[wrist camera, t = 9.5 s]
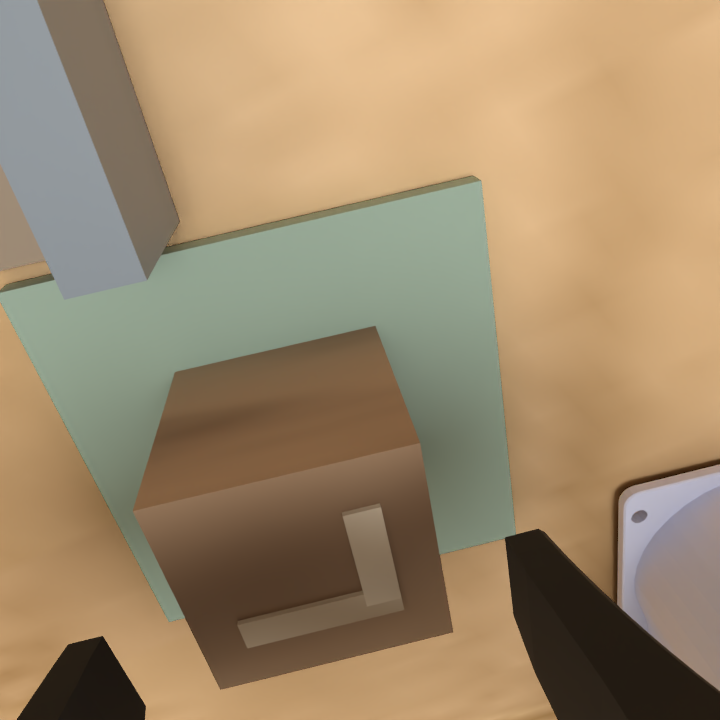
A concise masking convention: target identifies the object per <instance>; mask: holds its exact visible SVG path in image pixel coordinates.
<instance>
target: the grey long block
mask: <svg viewBox="0 0 720 720" xmlns="http://www.w3.org/2000/svg"><path fill="white" fill-rule="evenodd" d="M179 222H180V221H179V218H178V215H177V212H176V209H175V206H174V203H173V201H172V198H171V195H170V192H169V189H168V186H167V183H166V180H165V178H164V175H163V172H162V169H161V166H160V163H159V160H158V157H157V154H156V152H155V149H154V146H153V143H152V140H151V137H150V134H149V131H148V128H147V126H146V123H145V120H144V117H143V114H142V111H141V108H140V105H139V103H138V100H137V97H136V94H135V91H134V88H133V85H132V82H131V79H130V77H129V74H128V71H127V68H126V65H125V62H124V59H123V56H122V53H121V51H120V48H119V45H118V42H117V39H116V36H115V33H114V30H113V28H112V25H111V22H110V19H109V16H108V13H107V10H106V7H105V4H104V2H103V0H0V271H3V270H7V269H11V268H15V267H20V266H24V265H28V264H33V263H37V262H41V261H46V262H47V264H48V266H49V269H50V271H51V273H52V275H53V277H54V279H55V281H56V283H57V286H58V288H59V290H60V292H61V294H62V296H63V298H64V300H66V299H70V298H75V297H79V296H83V295H87V294H92V293H96V292H100V291H104V290H109V289H113V288H117V287H122V286H126V285H130V284H134V283H139V282H143V281H147V280H148V278H149V276H150V274H151V272H152V271H153V269H154V267H155V265H156V263H157V262H158V260H159V258H160V256H161V254H162V252H163V251H164V249H165V247H166V245H167V243H168V242H169V240H170V238H171V236H172V234H173V233H174V231H175V229H176V227H177V225H178V224H179Z"/></svg>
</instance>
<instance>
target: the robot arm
mask: <svg viewBox="0 0 720 720" xmlns="http://www.w3.org/2000/svg"><path fill="white" fill-rule="evenodd" d="M637 511H638V512H637ZM635 512H637V513H635ZM634 513H635V514H634ZM505 542H506V551H507V560H508V569H509V578H510V587H511V596H512V605H513V614H514V617H515V620H516V623H517V625H518V628H519V631H520V634H521V636H522V639H523V642H524V644H525V647H526V650H527V652H528V655H529V658H530V660H531V663H532V666H533V668H534V671H535V673H536V676H537V678H538V680H539V682H540V684H541V686H542V688H543V690H544V692H545V694H546V696H547V698H548V700H549V702H550V705H551V707H552V709H553V711H554V713H555V715H556V717H557V719H558V720H720V464H719V465H715V466H711V467H707V468H703V469H699V470H695V471H691V472H687V473H683V474H679V475H675V476H671V477H667V478H663V479H659V480H655V481H651V482H647V483H642V484H638V485H634V486H631V487H629V488H627V489H626V490H625V491H623V493H622V494H621V496H620V498H619V511H618V586H617V604H616V603H614V602H613V601H612V600H611V599H610V598H609V597H608V596H607V595H606V594H605V593H604V592H603V591H602V590H601V589H600V588H598V587H597V586H596V585H595V584H594V583H593V582H592V581H591V580H590V579H589V578H588V577H587V576H586V575H585V574H584V573H583V572H582V571H581V570H580V569H579V568H578V567H577V566H576V565H575V564H574V563H573V562H572V561H571V560H570V559H569V558H568V557H567V556H566V555H565V554H564V553H563V552H562V551H561V549H560V548H559V547H558V546H557V545H556V544H555V543H554V542H553V541H552V540H551V539H550V538H549V537H548V535H547V534H546V533H545V532H543V531H541V530H540V529H536V530H532V531H528V532H524V533H520V534H516V535H512V536H508V537H505ZM145 710H146V706H145V704H144V702H143V701H142V699H141V698H140V696H139V694H138V693H137V691H136V689H135V688H134V686H133V685H132V683H131V681H130V680H129V678H128V676H127V675H126V673H125V672H124V670H123V668H122V667H121V665H120V663H119V662H118V660H117V659H116V657H115V655H114V654H113V652H112V650H111V649H110V647H109V646H108V644H107V642H106V641H105V639H104V637H103V636H101V637H97V638H93V639H88V640H84V641H80V642H76V643H72V644H68V646H67V647H66V648H65V650H64V651H63V653H62V654H61V655H60V657H59V658H58V660H57V661H56V663H55V664H54V665H53V667H52V668H51V670H50V671H49V673H48V674H47V676H46V677H45V679H44V680H43V682H42V683H41V685H40V686H39V688H38V689H37V691H36V692H35V693H34V695H33V696H32V698H31V699H30V701H29V702H28V704H27V705H26V707H25V708H24V710H23V711H22V713H21V714H20V716H19V717H18V718H17V720H145Z"/></svg>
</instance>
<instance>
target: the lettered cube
mask: <svg viewBox="0 0 720 720" xmlns="http://www.w3.org/2000/svg"><path fill="white" fill-rule="evenodd" d="M133 513H134V515H135V517H136V519H137V521H138V523H139V525H140V527H141V529H142V531H143V533H144V535H145V537H146V539H147V541H148V544H149V546H150V548H151V550H152V552H153V554H154V556H155V558H156V560H157V562H158V564H159V566H160V568H161V570H162V572H163V574H164V576H165V578H166V580H167V582H168V584H169V586H170V588H171V590H172V592H173V594H174V596H175V598H176V600H177V602H178V604H179V606H180V608H181V611H182V613H183V615H184V617H185V619H186V621H187V623H188V625H189V627H190V629H191V631H192V633H193V635H194V637H195V639H196V641H197V643H198V645H199V647H200V649H201V651H202V653H203V655H204V657H205V659H206V661H207V663H208V665H209V667H210V669H211V671H212V673H213V675H214V678H215V680H216V682H217V684H218V686H219V688H220V690H221V689H225V688H229V687H233V686H237V685H242V684H246V683H250V682H254V681H258V680H262V679H266V678H270V677H274V676H278V675H282V674H286V673H290V672H294V671H298V670H302V669H306V668H310V667H314V666H318V665H323V664H327V663H331V662H335V661H339V660H343V659H347V658H351V657H355V656H359V655H363V654H367V653H371V652H375V651H379V650H383V649H387V648H391V647H395V646H399V645H403V644H408V643H412V642H416V641H420V640H424V639H428V638H432V637H436V636H440V635H444V634H448V633H452V632H453V628H452V622H451V617H450V611H449V605H448V600H447V594H446V588H445V582H444V577H443V571H442V565H441V559H440V554H439V548H438V542H437V537H436V531H435V525H434V519H433V514H432V508H431V502H430V496H429V491H428V485H427V479H426V474H425V468H424V462H423V456H422V451H421V445H420V441H419V439H418V436H417V433H416V431H415V428H414V426H413V423H412V420H411V418H410V415H409V412H408V410H407V407H406V405H405V402H404V399H403V397H402V394H401V392H400V389H399V386H398V384H397V381H396V379H395V376H394V373H393V371H392V368H391V365H390V363H389V360H388V358H387V355H386V352H385V350H384V347H383V345H382V342H381V339H380V337H379V334H378V332H377V329H376V326H372V327H368V328H363V329H359V330H355V331H350V332H346V333H342V334H337V335H333V336H329V337H324V338H320V339H316V340H311V341H307V342H303V343H298V344H294V345H290V346H285V347H281V348H277V349H272V350H268V351H264V352H259V353H255V354H251V355H246V356H242V357H238V358H233V359H229V360H225V361H220V362H216V363H212V364H207V365H203V366H199V367H194V368H190V369H186V370H181V371H177V372H175V374H174V377H173V380H172V383H171V387H170V390H169V393H168V397H167V400H166V403H165V406H164V410H163V413H162V416H161V420H160V423H159V426H158V429H157V433H156V436H155V439H154V442H153V446H152V449H151V452H150V456H149V459H148V462H147V465H146V469H145V472H144V475H143V479H142V482H141V485H140V488H139V492H138V495H137V498H136V502H135V505H134V508H133Z"/></svg>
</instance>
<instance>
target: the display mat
mask: <svg viewBox="0 0 720 720" xmlns="http://www.w3.org/2000/svg"><path fill="white" fill-rule="evenodd" d="M0 302H1V304H2V306H3V308H4V310H5V312H6V314H7V316H8V318H9V320H10V321H11V323H12V325H13V327H14V329H15V331H16V333H17V335H18V337H19V339H20V340H21V342H22V344H23V346H24V348H25V350H26V352H27V354H28V356H29V357H30V359H31V361H32V363H33V365H34V367H35V369H36V371H37V373H38V375H39V376H40V378H41V380H42V382H43V384H44V386H45V388H46V390H47V392H48V394H49V395H50V397H51V399H52V401H53V403H54V405H55V407H56V409H57V411H58V412H59V414H60V416H61V418H62V420H63V422H64V424H65V426H66V428H67V430H68V431H69V433H70V435H71V437H72V439H73V441H74V443H75V445H76V447H77V449H78V450H79V452H80V454H81V456H82V458H83V460H84V462H85V464H86V466H87V467H88V469H89V471H90V473H91V475H92V477H93V479H94V481H95V483H96V485H97V486H98V488H99V490H100V492H101V494H102V496H103V498H104V500H105V502H106V504H107V505H108V507H109V509H110V511H111V513H112V515H113V517H114V519H115V521H116V522H117V524H118V526H119V528H120V530H121V532H122V534H123V536H124V538H125V540H126V541H127V543H128V545H129V547H130V549H131V551H132V553H133V555H134V557H135V559H136V560H137V562H138V564H139V566H140V568H141V570H142V572H143V574H144V576H145V577H146V579H147V581H148V583H149V585H150V587H151V589H152V591H153V593H154V595H155V596H156V598H157V600H158V602H159V604H160V606H161V608H162V610H163V612H164V614H165V615H166V617H167V619H168V621H169V622H171V621H175V620H179V619H183V618H185V617H184V615H183V613H182V611H181V608H180V606H179V604H178V602H177V600H176V598H175V596H174V594H173V592H172V590H171V588H170V586H169V584H168V582H167V580H166V578H165V576H164V574H163V572H162V570H161V568H160V566H159V564H158V562H157V560H156V558H155V556H154V554H153V552H152V550H151V548H150V546H149V544H148V541H147V539H146V537H145V535H144V533H143V531H142V529H141V527H140V525H139V523H138V521H137V519H136V517H135V515H134V513H133V508H134V505H135V502H136V498H137V495H138V492H139V488H140V485H141V482H142V479H143V475H144V472H145V469H146V465H147V462H148V459H149V456H150V452H151V449H152V446H153V442H154V439H155V436H156V433H157V429H158V426H159V423H160V420H161V416H162V413H163V410H164V406H165V403H166V400H167V397H168V393H169V390H170V387H171V383H172V380H173V377H174V374H175V372H177V371H181V370H186V369H190V368H194V367H199V366H203V365H207V364H212V363H216V362H220V361H225V360H229V359H233V358H238V357H242V356H246V355H251V354H255V353H259V352H264V351H268V350H272V349H277V348H281V347H285V346H290V345H294V344H298V343H303V342H307V341H311V340H316V339H320V338H324V337H329V336H333V335H337V334H342V333H346V332H350V331H355V330H359V329H363V328H368V327H372V326H376V329H377V332H378V334H379V337H380V339H381V342H382V345H383V347H384V350H385V352H386V355H387V358H388V360H389V363H390V365H391V368H392V371H393V373H394V376H395V379H396V381H397V384H398V386H399V389H400V392H401V394H402V397H403V399H404V402H405V405H406V407H407V410H408V412H409V415H410V418H411V420H412V423H413V426H414V428H415V431H416V433H417V436H418V439H419V441H420V445H421V451H422V456H423V462H424V468H425V474H426V479H427V485H428V491H429V496H430V502H431V508H432V514H433V519H434V525H435V531H436V537H437V542H438V548H439V554H440V555H441V554H445V553H449V552H453V551H457V550H461V549H465V548H469V547H473V546H477V545H481V544H485V543H489V542H493V541H497V540H501V539H505V537H508V536H512V535H516V529H515V519H514V509H513V499H512V489H511V479H510V468H509V458H508V448H507V438H506V428H505V417H504V407H503V397H502V387H501V377H500V366H499V356H498V346H497V336H496V326H495V315H494V305H493V295H492V285H491V275H490V265H489V254H488V244H487V234H486V224H485V214H484V203H483V193H482V183H481V180H479V179H478V178H476V177H474V176H470V177H466V178H462V179H458V180H453V181H449V182H445V183H440V184H436V185H432V186H428V187H423V188H419V189H415V190H410V191H406V192H402V193H397V194H393V195H389V196H385V197H380V198H376V199H372V200H367V201H363V202H359V203H354V204H350V205H346V206H342V207H337V208H333V209H329V210H324V211H320V212H316V213H311V214H307V215H303V216H299V217H294V218H290V219H286V220H281V221H277V222H273V223H269V224H264V225H260V226H256V227H251V228H247V229H243V230H238V231H234V232H230V233H226V234H221V235H217V236H213V237H208V238H204V239H200V240H195V241H191V242H187V243H183V244H178V245H174V246H170V247H165V249H164V251H163V252H162V254H161V256H160V258H159V260H158V262H157V263H156V265H155V267H154V269H153V271H152V272H151V274H150V276H149V278H148V280H147V281H143V282H139V283H134V284H130V285H126V286H122V287H117V288H113V289H109V290H104V291H100V292H96V293H92V294H87V295H83V296H79V297H75V298H70V299H66V300H64V298H63V296H62V294H61V292H60V290H59V288H58V286H57V283H56V281H55V279H54V277H53V275H52V274H49V275H45V276H41V277H36V278H32V279H28V280H24V281H19V282H15V283H11V284H7V285H5V286H4V287H3V288H2V289H1V290H0Z"/></svg>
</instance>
